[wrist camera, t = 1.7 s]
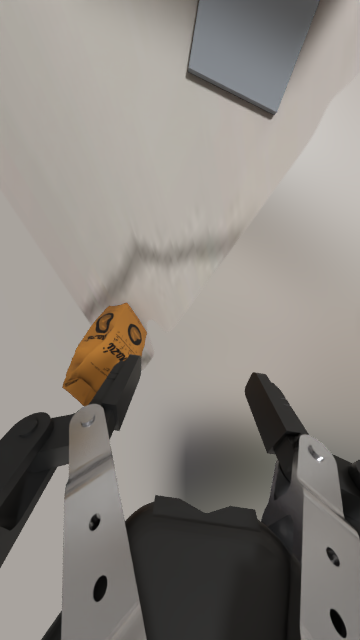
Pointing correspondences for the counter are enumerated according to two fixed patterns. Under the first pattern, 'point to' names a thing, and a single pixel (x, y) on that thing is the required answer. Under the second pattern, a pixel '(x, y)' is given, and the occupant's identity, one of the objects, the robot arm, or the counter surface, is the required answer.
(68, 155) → the counter surface
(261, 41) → the slate mat
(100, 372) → the coffee package
